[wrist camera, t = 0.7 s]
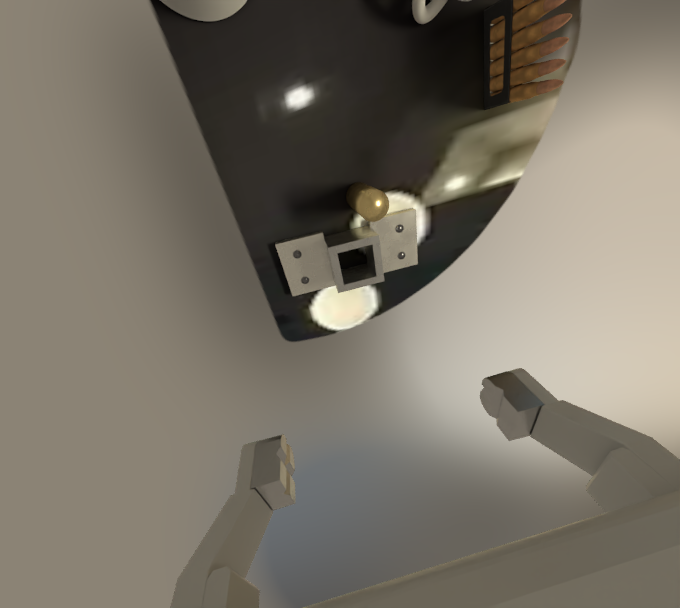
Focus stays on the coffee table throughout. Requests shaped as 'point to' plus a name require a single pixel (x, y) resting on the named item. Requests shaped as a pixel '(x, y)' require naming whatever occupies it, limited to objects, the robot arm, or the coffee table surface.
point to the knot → (427, 9)
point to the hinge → (321, 251)
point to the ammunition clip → (519, 50)
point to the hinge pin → (367, 201)
